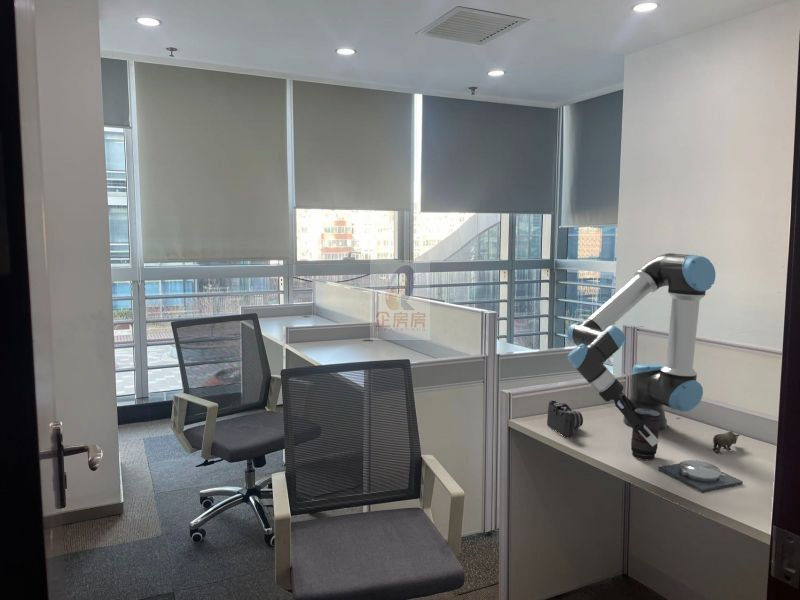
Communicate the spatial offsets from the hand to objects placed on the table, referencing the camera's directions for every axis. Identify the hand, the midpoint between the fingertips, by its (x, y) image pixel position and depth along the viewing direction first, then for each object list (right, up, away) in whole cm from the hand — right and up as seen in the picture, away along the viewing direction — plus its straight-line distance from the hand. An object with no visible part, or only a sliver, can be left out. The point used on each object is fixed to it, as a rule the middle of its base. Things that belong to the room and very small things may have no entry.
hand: (653, 437), depth 188 cm
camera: (-21, -4, +24) cm, 32 cm away
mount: (+8, -9, -13) cm, 18 cm away
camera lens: (-3, -7, +2) cm, 8 cm away
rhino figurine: (+29, -7, +10) cm, 31 cm away
